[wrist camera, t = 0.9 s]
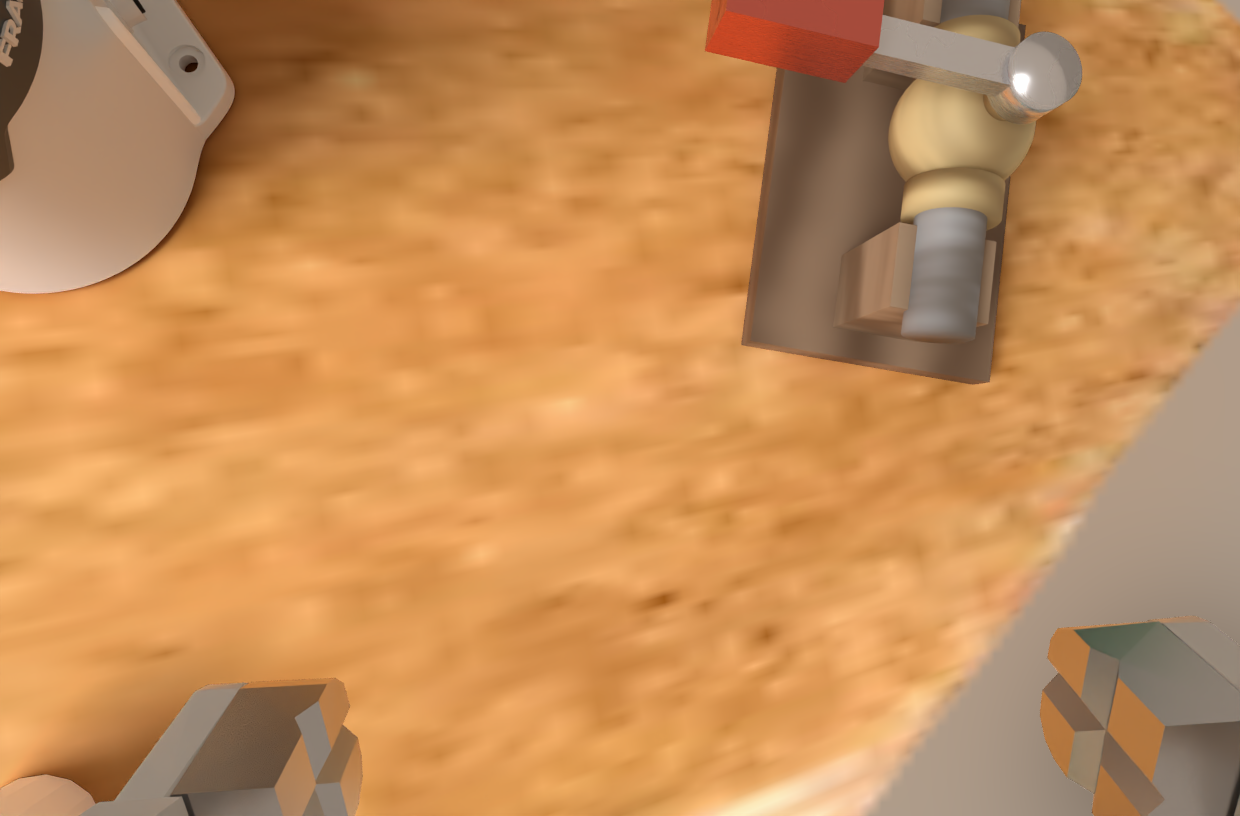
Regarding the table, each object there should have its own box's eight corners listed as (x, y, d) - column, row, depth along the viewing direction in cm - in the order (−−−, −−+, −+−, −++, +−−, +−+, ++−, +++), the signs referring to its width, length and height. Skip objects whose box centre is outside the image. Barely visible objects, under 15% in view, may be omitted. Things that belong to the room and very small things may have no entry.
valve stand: (741, 344, 41) (832, 304, 30) (787, -16, 43) (890, -181, 32) (972, 384, 44) (1138, 360, 32) (1008, 39, 45) (1176, -98, 34)
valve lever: (704, 57, 30) (724, 18, 27) (713, -13, 30) (735, -60, 28) (1039, 134, 32) (1090, 105, 30) (1046, 68, 33) (1097, 33, 30)
